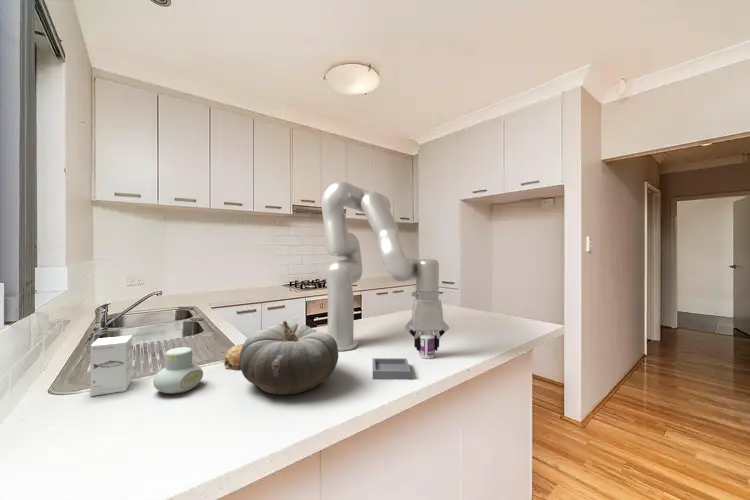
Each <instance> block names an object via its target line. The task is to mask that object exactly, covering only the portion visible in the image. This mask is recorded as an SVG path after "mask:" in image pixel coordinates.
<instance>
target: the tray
mask: <svg viewBox="0 0 750 500" xmlns="http://www.w3.org/2000/svg"><path fill="white" fill-rule="evenodd" d="M409 364H410V363H409V362H408V359H407V358H394V357H393V358H389V357H388V358H386V357H385V358H383V357H382V358H380V357H379V358H372V380H412V373H411V372H412V370H411V367H410V365H409Z"/></svg>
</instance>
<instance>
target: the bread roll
mask: <svg viewBox="0 0 750 500" xmlns="http://www.w3.org/2000/svg"><path fill="white" fill-rule="evenodd" d="M243 344H244V343H242V344H236V345H234V346H231V347H230V348H229V349H227V351H226V353H225V354H224V358H223V363H224V367H225V369H228V370H237V371H241V364H240V352H241V349H242V346H243Z"/></svg>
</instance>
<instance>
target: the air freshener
mask: <svg viewBox="0 0 750 500" xmlns="http://www.w3.org/2000/svg"><path fill="white" fill-rule="evenodd" d="M164 365H165V366H164V367H163V368H161V370H159V371H158V372H157V373H156V374H155V376H154V378H153V381H152V383H153V387H154V388H155V390H157V391H159V392H160V393H163V394H168V395H169V394H172V395H175V394H181V393H186V392H188V391H190V390H191V389H193V388H195V387H196V386H197V385H198V384H200V383H201V381H202V379H203V377H204V371H203V368H202V367H200V366H199V365H197V364H195V363H193V349H192V348H191V347H187V346H186V347H185V346H182V347H181V346H180V347H175V348H171V349H168V350H166V352H165V363H164Z"/></svg>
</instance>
